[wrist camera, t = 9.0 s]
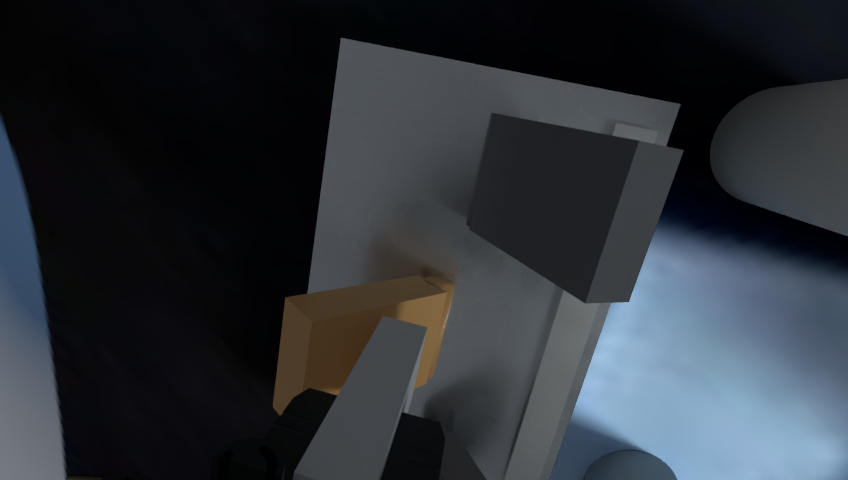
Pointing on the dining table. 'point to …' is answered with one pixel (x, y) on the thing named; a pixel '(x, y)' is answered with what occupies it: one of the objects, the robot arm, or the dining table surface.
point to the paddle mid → (354, 331)
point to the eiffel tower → (82, 478)
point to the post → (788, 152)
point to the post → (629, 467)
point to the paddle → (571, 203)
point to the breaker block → (463, 238)
